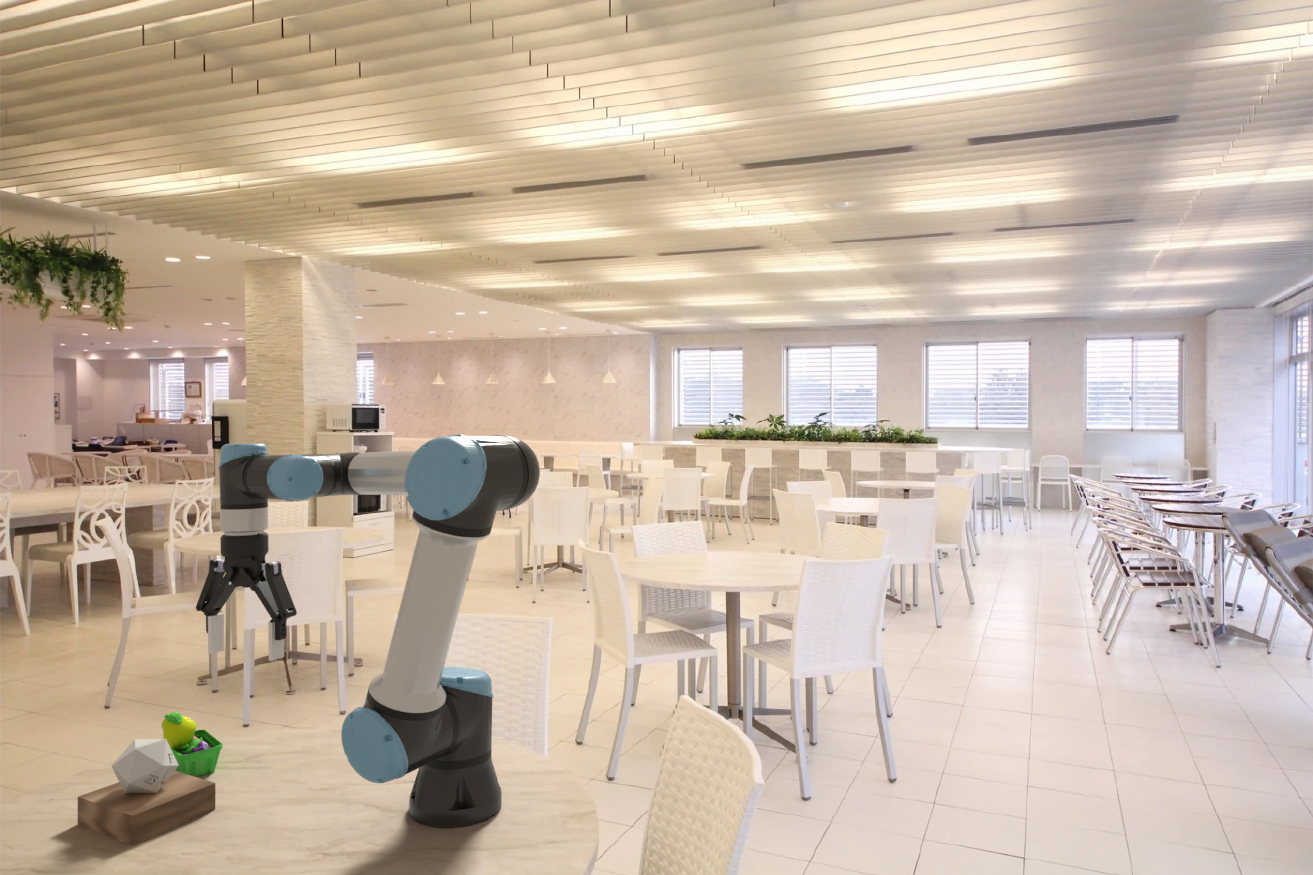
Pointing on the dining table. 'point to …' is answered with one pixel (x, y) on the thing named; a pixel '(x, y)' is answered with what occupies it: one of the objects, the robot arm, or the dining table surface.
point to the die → (145, 766)
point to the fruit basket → (190, 745)
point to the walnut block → (145, 808)
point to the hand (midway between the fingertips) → (245, 655)
